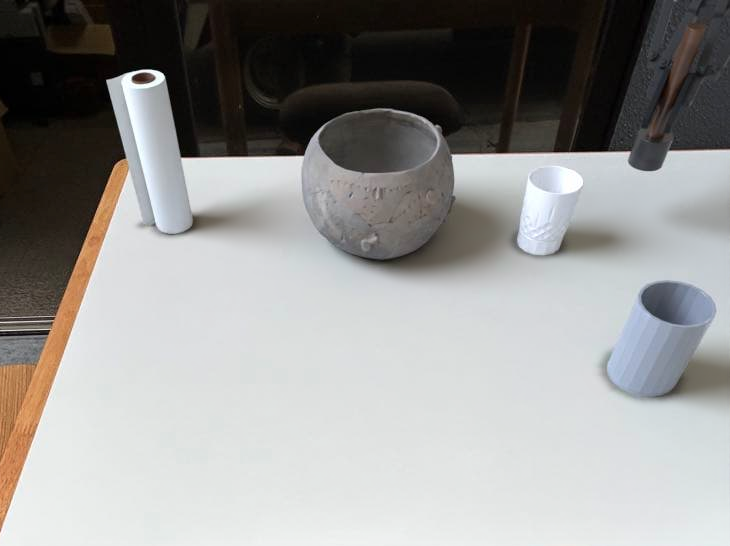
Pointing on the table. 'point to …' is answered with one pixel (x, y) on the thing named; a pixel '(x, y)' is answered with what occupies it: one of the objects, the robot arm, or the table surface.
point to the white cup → (548, 208)
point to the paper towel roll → (152, 148)
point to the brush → (666, 105)
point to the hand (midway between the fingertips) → (656, 126)
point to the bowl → (378, 182)
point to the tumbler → (660, 337)
